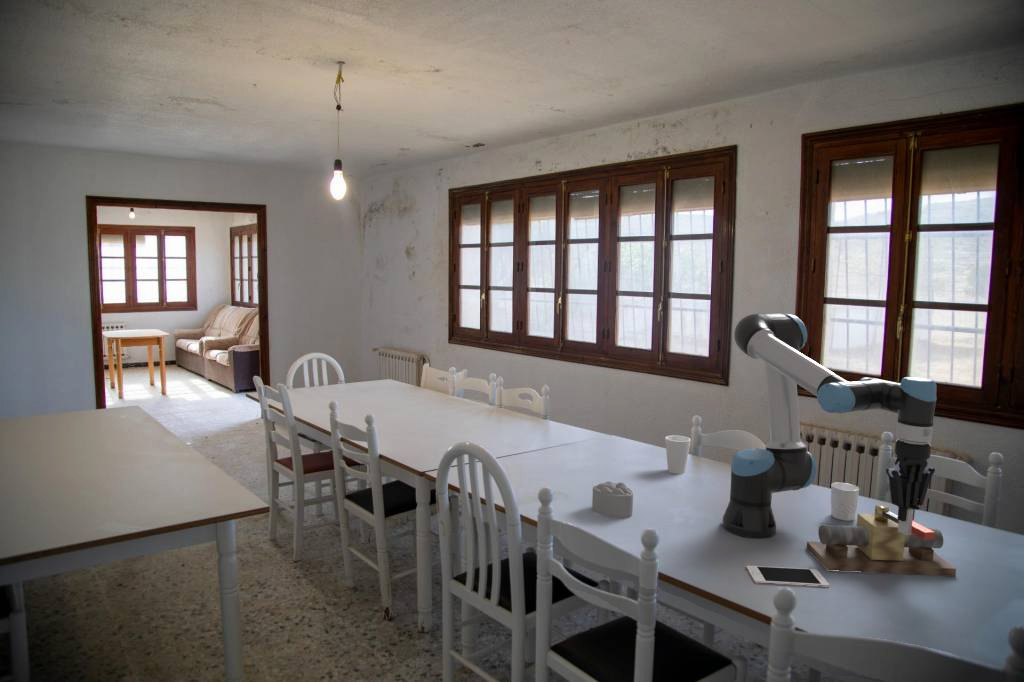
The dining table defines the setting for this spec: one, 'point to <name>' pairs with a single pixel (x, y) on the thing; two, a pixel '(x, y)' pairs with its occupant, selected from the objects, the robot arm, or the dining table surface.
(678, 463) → the foam cup
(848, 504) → the white cup
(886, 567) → the pipe rig
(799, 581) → the cell phone
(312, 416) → the dining table surface
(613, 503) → the lumpy-topped squat cylinder
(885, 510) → the valve lever
